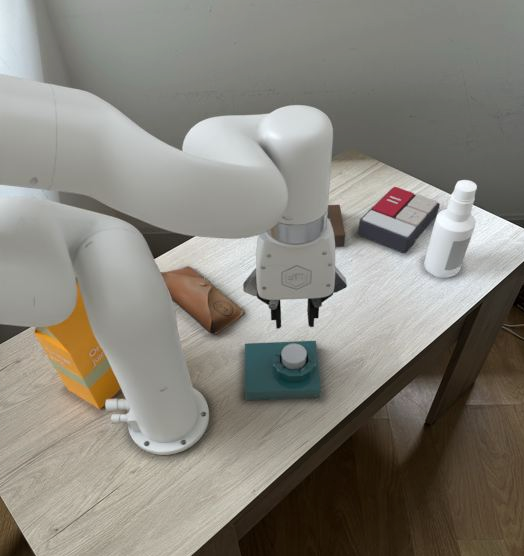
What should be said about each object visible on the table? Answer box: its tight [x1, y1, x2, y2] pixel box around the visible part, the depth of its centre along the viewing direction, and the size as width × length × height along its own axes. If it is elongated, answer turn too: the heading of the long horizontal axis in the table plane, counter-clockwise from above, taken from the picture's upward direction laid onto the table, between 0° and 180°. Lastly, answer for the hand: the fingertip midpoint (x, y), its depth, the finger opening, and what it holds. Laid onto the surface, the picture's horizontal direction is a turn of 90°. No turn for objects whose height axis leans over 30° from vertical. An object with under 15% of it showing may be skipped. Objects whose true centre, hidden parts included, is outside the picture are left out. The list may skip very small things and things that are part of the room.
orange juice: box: [33, 282, 122, 410], centre depth 79 cm, size 8×9×20 cm
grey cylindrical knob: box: [281, 344, 307, 370], centre depth 83 cm, size 4×4×2 cm
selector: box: [327, 204, 346, 248], centre depth 107 cm, size 14×10×3 cm
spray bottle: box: [423, 179, 478, 279], centre depth 93 cm, size 7×7×18 cm
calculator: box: [357, 186, 441, 254], centre depth 107 cm, size 11×4×15 cm
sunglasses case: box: [160, 265, 245, 336], centre depth 96 cm, size 18×7×7 cm
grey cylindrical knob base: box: [244, 340, 322, 401], centre depth 85 cm, size 12×10×4 cm
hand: (294, 319), depth 76 cm, fingers open, 4 cm apart
